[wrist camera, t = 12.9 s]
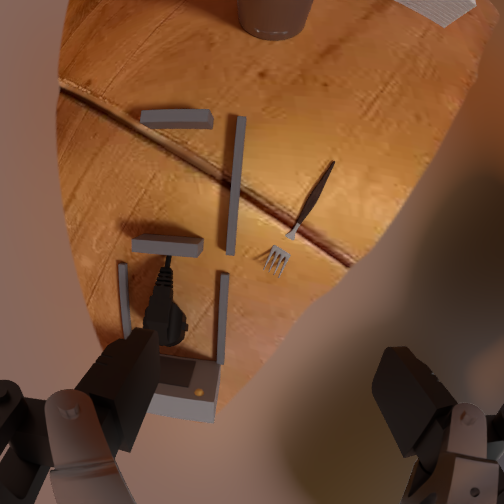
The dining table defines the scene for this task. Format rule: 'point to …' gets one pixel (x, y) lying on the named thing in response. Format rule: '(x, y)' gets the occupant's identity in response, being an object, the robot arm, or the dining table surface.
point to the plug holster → (205, 121)
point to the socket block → (184, 368)
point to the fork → (299, 221)
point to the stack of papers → (440, 9)
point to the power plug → (165, 310)
